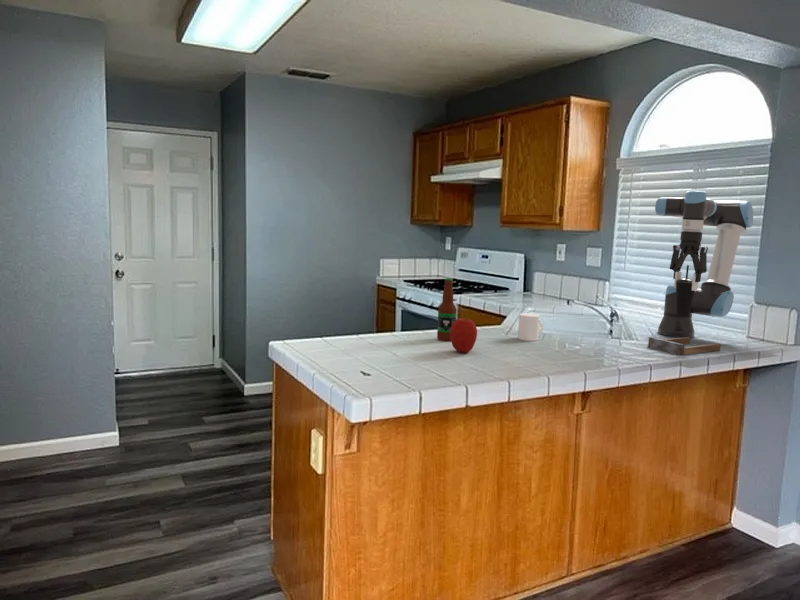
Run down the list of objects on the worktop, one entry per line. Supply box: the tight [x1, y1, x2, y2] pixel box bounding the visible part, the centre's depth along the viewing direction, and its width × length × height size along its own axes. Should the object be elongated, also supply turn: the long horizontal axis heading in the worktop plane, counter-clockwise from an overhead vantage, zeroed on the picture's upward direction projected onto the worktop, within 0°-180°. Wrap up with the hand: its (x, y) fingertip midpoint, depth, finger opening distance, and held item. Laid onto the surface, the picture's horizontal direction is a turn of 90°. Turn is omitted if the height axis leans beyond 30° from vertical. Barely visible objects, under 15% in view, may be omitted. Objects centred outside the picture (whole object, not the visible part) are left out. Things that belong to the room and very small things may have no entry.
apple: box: [450, 315, 478, 354], centre depth 220 cm, size 10×10×14 cm
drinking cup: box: [676, 264, 694, 316], centre depth 236 cm, size 8×8×20 cm
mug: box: [517, 312, 544, 342], centre depth 250 cm, size 8×10×12 cm
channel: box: [647, 336, 721, 356], centre depth 241 cm, size 15×24×4 cm, turn 118°
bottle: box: [436, 277, 457, 342], centre depth 241 cm, size 7×7×25 cm
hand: (685, 289), depth 236 cm, fingers closed on drinking cup, 7 cm apart
